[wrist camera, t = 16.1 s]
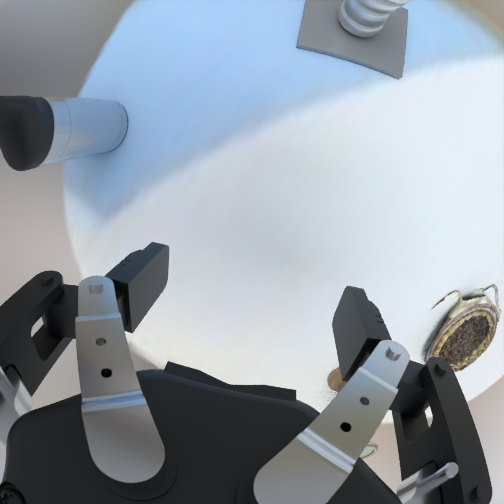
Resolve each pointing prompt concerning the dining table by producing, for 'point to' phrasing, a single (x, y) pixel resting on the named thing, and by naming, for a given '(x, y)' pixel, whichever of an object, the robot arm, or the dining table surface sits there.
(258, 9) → the dining table surface
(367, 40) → the slate tile
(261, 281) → the dining table surface
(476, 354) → the pie
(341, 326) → the robot arm
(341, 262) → the dining table surface
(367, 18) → the plastic bottle
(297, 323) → the dining table surface
